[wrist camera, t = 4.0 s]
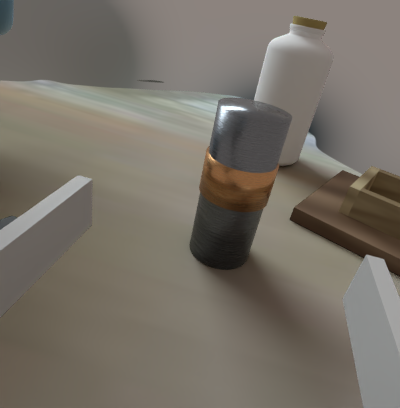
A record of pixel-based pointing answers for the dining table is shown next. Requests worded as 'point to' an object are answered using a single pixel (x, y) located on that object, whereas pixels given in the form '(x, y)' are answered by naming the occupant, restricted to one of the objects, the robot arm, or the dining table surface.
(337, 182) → the socket
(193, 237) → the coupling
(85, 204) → the robot arm
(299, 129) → the potion bottle
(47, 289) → the dining table surface
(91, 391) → the dining table surface
